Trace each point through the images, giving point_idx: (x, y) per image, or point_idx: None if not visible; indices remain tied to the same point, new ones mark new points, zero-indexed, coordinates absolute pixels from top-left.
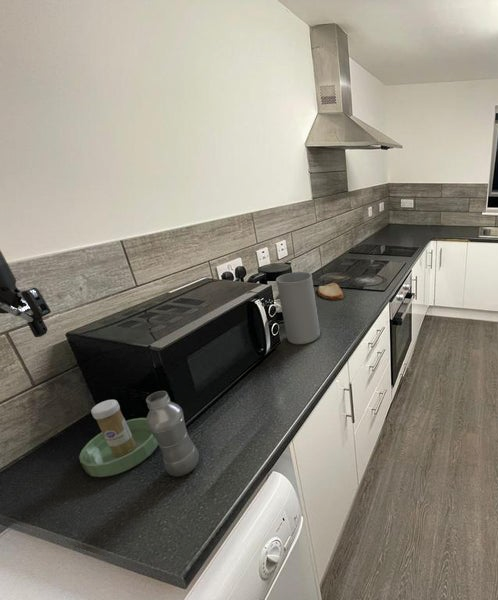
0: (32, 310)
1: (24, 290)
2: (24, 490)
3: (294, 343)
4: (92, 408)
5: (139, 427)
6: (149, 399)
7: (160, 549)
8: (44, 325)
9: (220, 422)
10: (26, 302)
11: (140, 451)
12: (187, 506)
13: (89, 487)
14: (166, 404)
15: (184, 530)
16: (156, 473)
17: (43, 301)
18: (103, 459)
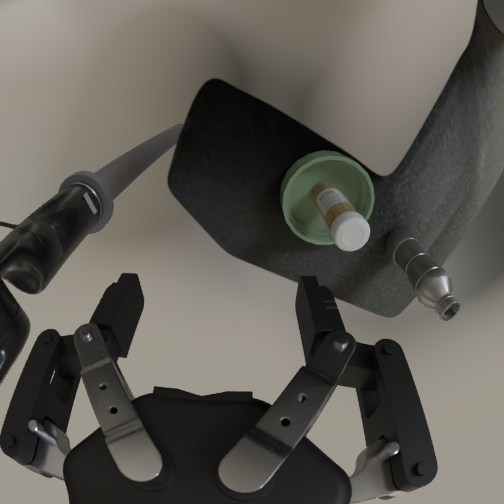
0: (364, 410)
1: (377, 496)
2: (221, 227)
3: (494, 23)
4: (336, 238)
5: (334, 160)
6: (441, 308)
7: (382, 307)
8: (336, 311)
9: (427, 174)
10: (318, 411)
11: None
12: (398, 280)
13: (302, 240)
14: (450, 307)
15: (396, 297)
16: (369, 239)
17: (414, 404)
18: (301, 204)
